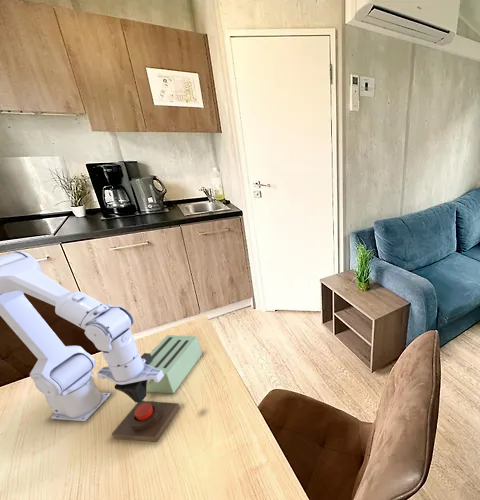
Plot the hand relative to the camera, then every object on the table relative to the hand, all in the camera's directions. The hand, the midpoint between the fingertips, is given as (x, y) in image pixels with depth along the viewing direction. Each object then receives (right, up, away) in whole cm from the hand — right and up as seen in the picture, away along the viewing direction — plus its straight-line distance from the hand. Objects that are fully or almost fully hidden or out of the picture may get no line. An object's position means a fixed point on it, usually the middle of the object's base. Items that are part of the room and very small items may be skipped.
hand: (141, 398), depth 70 cm
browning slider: (-6, +5, +11) cm, 13 cm away
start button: (0, -5, +1) cm, 5 cm away
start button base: (0, -7, +2) cm, 8 cm away
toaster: (-3, -1, +17) cm, 17 cm away
